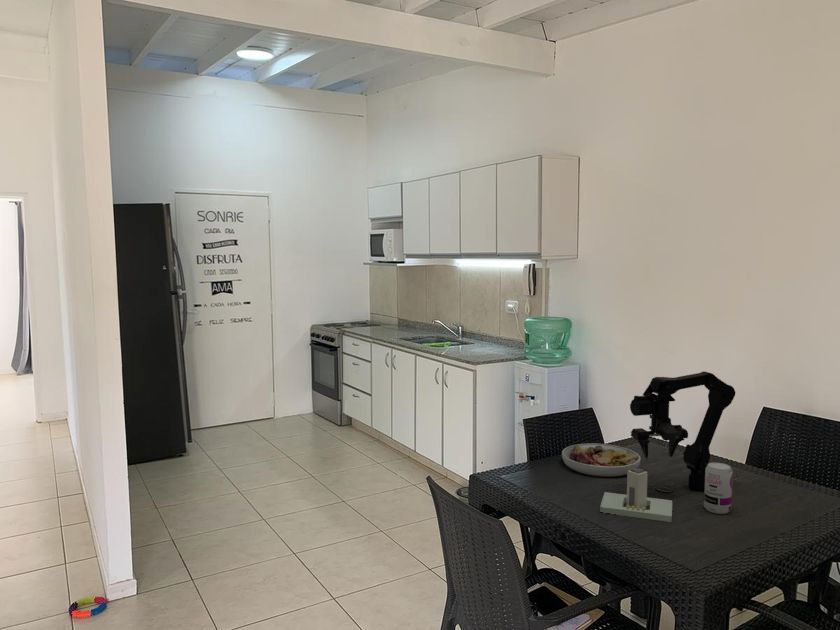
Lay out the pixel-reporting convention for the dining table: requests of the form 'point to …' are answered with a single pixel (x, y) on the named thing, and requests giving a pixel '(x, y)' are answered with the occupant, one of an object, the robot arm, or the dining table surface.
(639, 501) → the grey tall block
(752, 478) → the dining table surface
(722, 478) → the supplement can
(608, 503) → the board
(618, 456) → the bowl
